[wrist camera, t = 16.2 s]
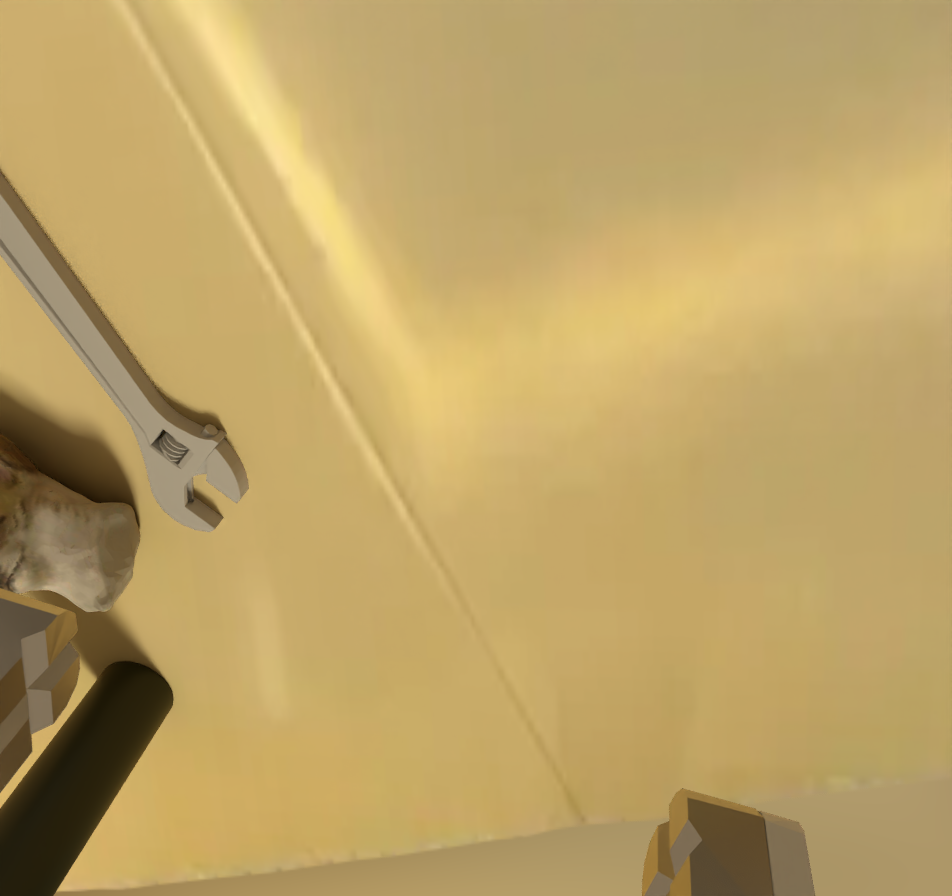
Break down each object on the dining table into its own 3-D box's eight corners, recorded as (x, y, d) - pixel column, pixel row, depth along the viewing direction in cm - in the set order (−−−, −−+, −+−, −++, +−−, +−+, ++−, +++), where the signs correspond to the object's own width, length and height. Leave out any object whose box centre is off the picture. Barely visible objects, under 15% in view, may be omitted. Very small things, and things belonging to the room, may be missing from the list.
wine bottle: (95, 656, 64) (-268, 1122, 39) (167, 667, 64) (-158, 1151, 38) (111, 709, 67) (-218, 1175, 42) (179, 720, 67) (-114, 1203, 41)
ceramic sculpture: (83, 687, 53) (-136, 591, 53) (160, 599, 60) (-33, 515, 60) (97, 562, 47) (-148, 456, 47) (180, 481, 54) (-33, 391, 55)
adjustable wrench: (-53, 155, 46) (-77, 161, 45) (33, 107, 44) (11, 113, 43) (191, 522, 56) (179, 538, 55) (272, 498, 54) (260, 514, 53)
